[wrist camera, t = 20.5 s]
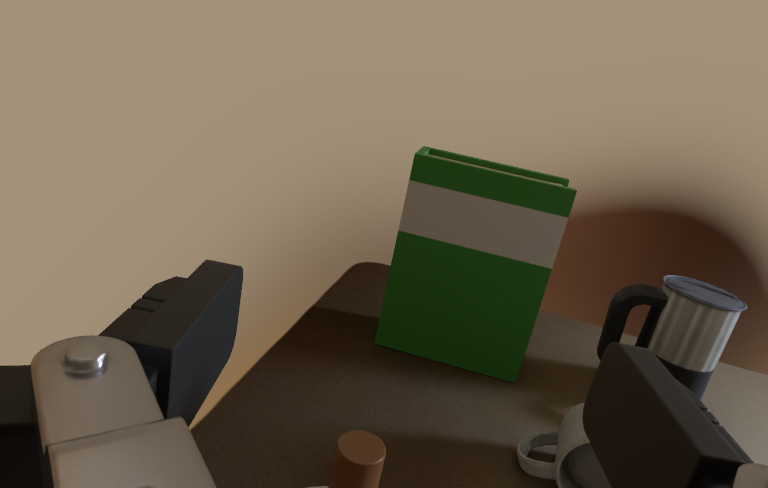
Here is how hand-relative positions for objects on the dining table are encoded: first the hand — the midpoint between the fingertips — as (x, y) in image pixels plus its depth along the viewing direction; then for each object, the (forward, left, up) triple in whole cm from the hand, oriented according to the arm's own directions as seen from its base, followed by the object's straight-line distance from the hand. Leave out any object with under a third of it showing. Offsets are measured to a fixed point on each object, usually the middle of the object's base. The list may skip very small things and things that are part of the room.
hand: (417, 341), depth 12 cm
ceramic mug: (+31, +20, -28) cm, 46 cm away
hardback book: (+29, +43, -28) cm, 59 cm away
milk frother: (+51, +29, -28) cm, 65 cm away
